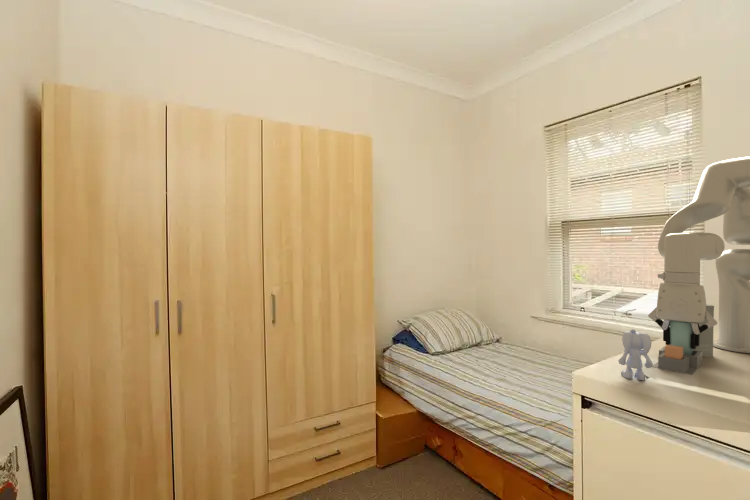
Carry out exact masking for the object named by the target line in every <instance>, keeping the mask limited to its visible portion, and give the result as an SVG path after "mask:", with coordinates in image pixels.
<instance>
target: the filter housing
mask: <svg viewBox="0 0 750 500" xmlns="http://www.w3.org/2000/svg"><path fill="white" fill-rule="evenodd" d="M665 346H666V345H664V346H663V347H661V348H660V349H659V350H658V356H657V357H658V359H657V362H656V363H655V364H653V366H652V367H651V368H655V369H659V370H665V371H670V372H675V373H680V374H685V375H690V376H693V375H694V373H695V372H696V370H698V369H699V367H701V365H702V364H703V356H702V355H703V351H697V350H692V355H687V354H683V359H682V360H680V359H674V358H669V357H665Z"/></svg>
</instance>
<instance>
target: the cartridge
mask: <svg viewBox="0 0 750 500" xmlns="http://www.w3.org/2000/svg"><path fill="white" fill-rule="evenodd" d="M669 327H670V345H673V346H679V347H683V354H687V355H692V348H691V334H693V328H692V325H691V323H687V322H679V321H670V326H669Z"/></svg>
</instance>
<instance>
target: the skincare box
mask: <svg viewBox="0 0 750 500" xmlns="http://www.w3.org/2000/svg"><path fill="white" fill-rule="evenodd" d="M706 309H707V311H708V312H709V314H710V315H711V316H712V317H713V318H714V315H715V314H714V313H715V305H713V304H712V305H711V304H708V303H706ZM714 319H715V318H714ZM706 323H708V320H707V319H706V320H705V321H703V322H702V323H699V325H700V326H702V325H704V324H706ZM713 341H714V326H712V327H710V328H708V329H706V330H705V331H703V332H701V333H700V340H699V346H696V349H692V350H697V351H703V355H702V357H710V358H711V357H714V346H713Z"/></svg>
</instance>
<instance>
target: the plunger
mask: <svg viewBox="0 0 750 500" xmlns="http://www.w3.org/2000/svg"><path fill="white" fill-rule="evenodd" d="M664 346H665V357H669V358H674V359H680V360H682V359H683V347H679V346H673V345H666V344H665V345H664Z"/></svg>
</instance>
